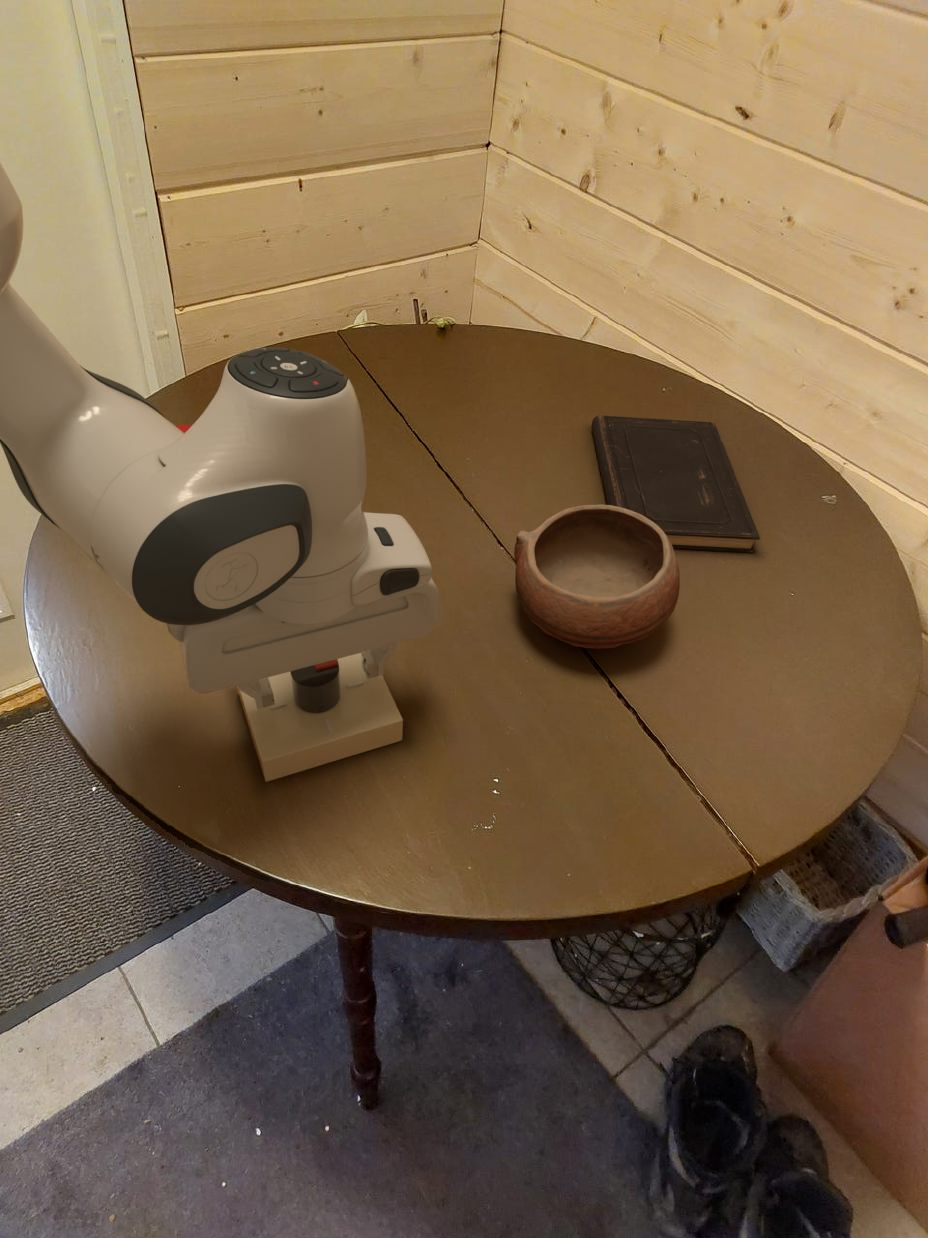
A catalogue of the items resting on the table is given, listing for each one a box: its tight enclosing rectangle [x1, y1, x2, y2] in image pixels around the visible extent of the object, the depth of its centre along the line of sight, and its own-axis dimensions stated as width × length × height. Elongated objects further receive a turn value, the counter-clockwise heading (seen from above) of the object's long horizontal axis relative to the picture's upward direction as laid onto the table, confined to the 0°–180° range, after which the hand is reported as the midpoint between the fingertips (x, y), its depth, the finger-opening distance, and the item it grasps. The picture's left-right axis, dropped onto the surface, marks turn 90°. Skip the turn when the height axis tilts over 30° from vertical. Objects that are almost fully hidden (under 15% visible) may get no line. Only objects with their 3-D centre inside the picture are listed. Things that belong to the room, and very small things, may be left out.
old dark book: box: [591, 414, 761, 554], centre depth 100 cm, size 16×23×2 cm
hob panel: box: [236, 650, 404, 783], centre depth 72 cm, size 12×10×3 cm
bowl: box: [513, 504, 681, 649], centre depth 81 cm, size 16×16×10 cm
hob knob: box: [290, 659, 341, 713], centre depth 70 cm, size 4×4×4 cm
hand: (319, 686), depth 70 cm, fingers open, 8 cm apart
